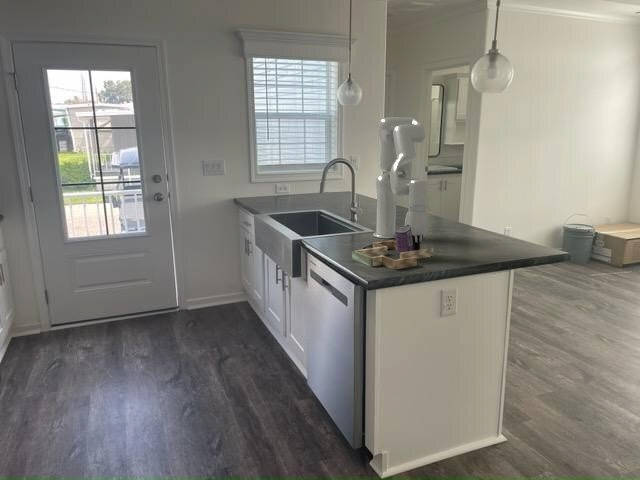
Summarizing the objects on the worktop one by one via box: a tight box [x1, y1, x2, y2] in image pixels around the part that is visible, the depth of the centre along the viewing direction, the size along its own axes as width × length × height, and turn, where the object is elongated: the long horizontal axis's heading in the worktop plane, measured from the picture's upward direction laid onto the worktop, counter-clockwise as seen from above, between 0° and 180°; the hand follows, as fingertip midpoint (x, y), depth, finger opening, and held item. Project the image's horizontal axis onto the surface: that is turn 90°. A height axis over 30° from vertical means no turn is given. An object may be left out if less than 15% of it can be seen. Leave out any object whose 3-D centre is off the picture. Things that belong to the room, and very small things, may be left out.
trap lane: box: [351, 239, 435, 270], centre depth 204 cm, size 33×29×4 cm
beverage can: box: [394, 225, 414, 256], centre depth 204 cm, size 7×7×12 cm
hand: (415, 250), depth 208 cm, fingers closed
